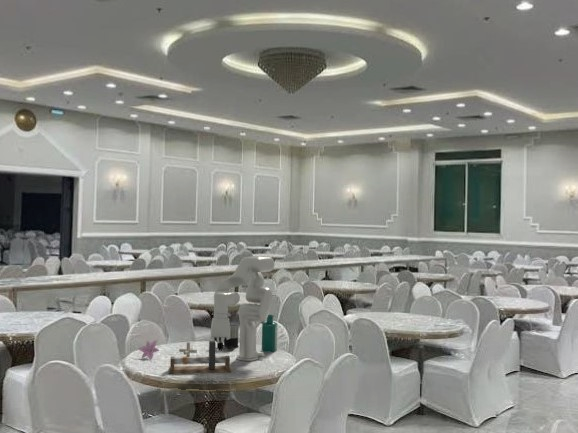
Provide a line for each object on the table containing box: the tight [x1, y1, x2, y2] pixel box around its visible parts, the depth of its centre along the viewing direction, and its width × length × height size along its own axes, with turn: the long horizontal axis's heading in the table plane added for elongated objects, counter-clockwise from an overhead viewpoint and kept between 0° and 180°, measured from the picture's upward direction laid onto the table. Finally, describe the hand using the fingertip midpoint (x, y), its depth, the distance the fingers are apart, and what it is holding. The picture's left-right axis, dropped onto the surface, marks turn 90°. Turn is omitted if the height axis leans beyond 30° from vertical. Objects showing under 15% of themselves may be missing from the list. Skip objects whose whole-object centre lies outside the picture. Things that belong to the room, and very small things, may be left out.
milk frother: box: [219, 321, 240, 351], centre depth 381 cm, size 14×16×15 cm
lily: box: [137, 339, 160, 360], centre depth 352 cm, size 12×12×10 cm
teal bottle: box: [260, 314, 278, 353], centre depth 377 cm, size 10×8×22 cm
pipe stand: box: [168, 355, 232, 375], centre depth 326 cm, size 32×11×7 cm, turn 100°
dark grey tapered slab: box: [208, 340, 217, 369], centre depth 327 cm, size 3×8×14 cm, turn 10°
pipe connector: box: [179, 341, 198, 357], centre depth 349 cm, size 10×10×10 cm
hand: (220, 350), depth 328 cm, fingers closed
